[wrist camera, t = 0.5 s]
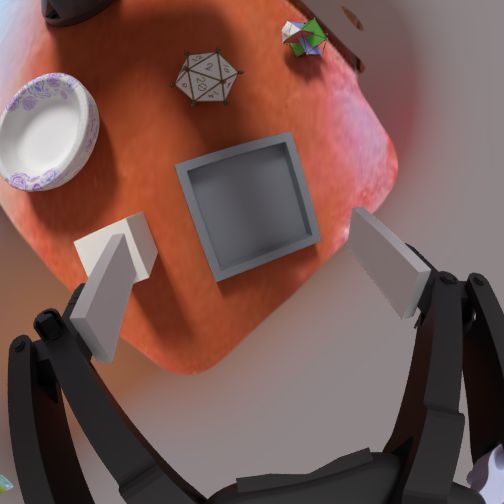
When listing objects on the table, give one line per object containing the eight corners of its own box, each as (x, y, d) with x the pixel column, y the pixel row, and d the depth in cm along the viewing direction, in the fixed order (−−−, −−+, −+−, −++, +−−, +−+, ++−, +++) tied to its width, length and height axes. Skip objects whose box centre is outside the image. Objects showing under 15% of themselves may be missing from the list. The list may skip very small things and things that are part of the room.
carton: (104, 227, 34) (70, 243, 21) (143, 211, 35) (123, 219, 22) (120, 267, 35) (95, 301, 23) (158, 252, 36) (147, 280, 24)
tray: (174, 167, 35) (174, 165, 32) (282, 135, 37) (290, 131, 34) (213, 275, 39) (215, 282, 36) (312, 237, 42) (321, 240, 39)
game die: (212, 102, 37) (250, 117, 32) (159, 104, 33) (187, 119, 27) (221, 48, 31) (262, 51, 26) (166, 45, 27) (197, 42, 21)
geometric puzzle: (319, 22, 32) (312, 5, 26) (337, 53, 34) (334, 40, 27) (281, 36, 36) (268, 22, 29) (298, 67, 38) (288, 57, 31)
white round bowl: (34, 209, 30) (6, 213, 22) (13, 123, 26) (-13, 113, 18) (118, 161, 32) (103, 152, 25) (93, 73, 28) (77, 50, 21)
